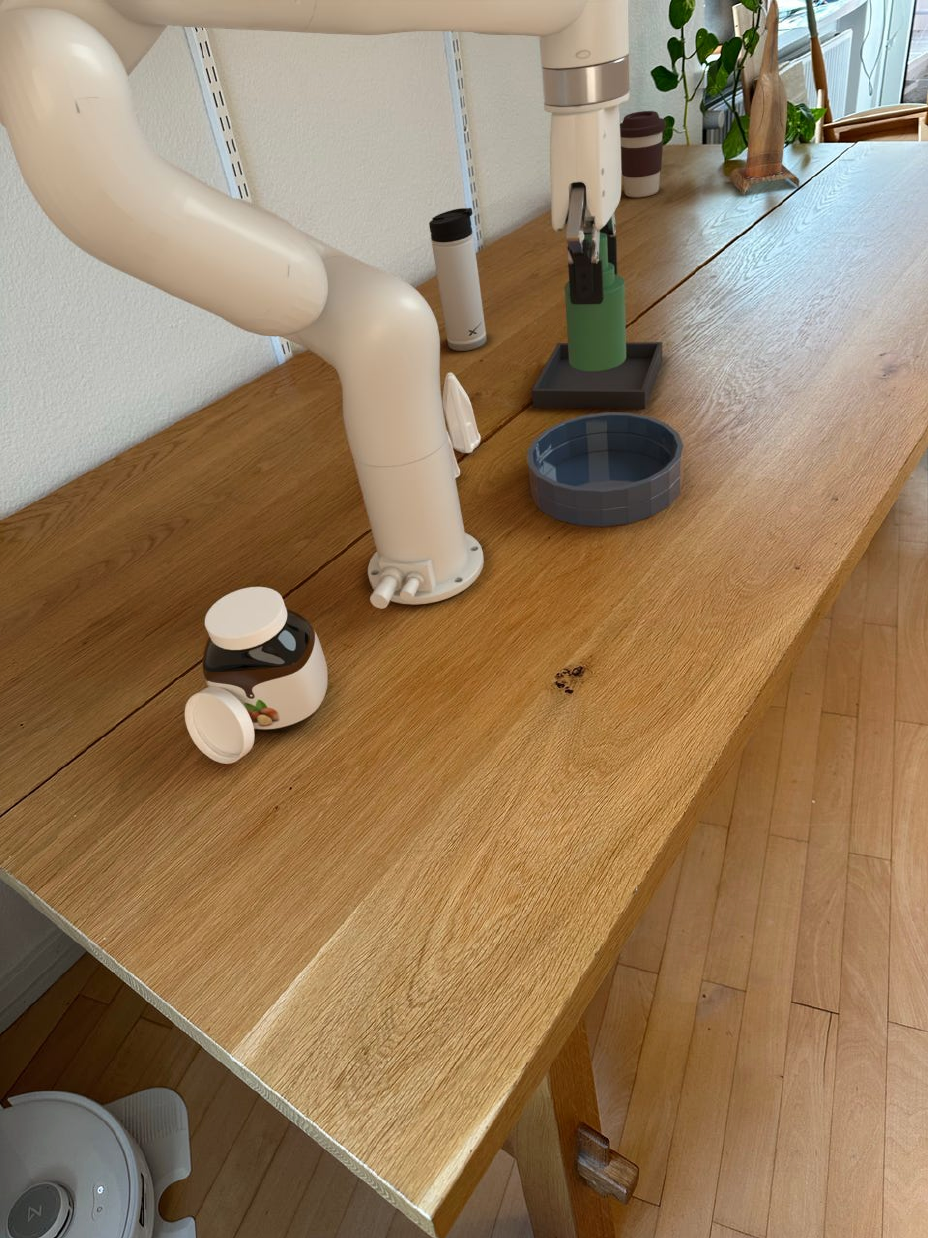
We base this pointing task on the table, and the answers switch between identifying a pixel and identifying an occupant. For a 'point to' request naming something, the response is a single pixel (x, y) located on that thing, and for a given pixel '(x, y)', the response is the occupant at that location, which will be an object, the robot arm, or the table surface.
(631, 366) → the tray
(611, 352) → the bottle
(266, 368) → the table surface
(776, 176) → the bird sculpture
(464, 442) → the white fin shape
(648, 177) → the coffee cup
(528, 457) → the bowl
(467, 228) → the travel mug
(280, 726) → the spread jar
